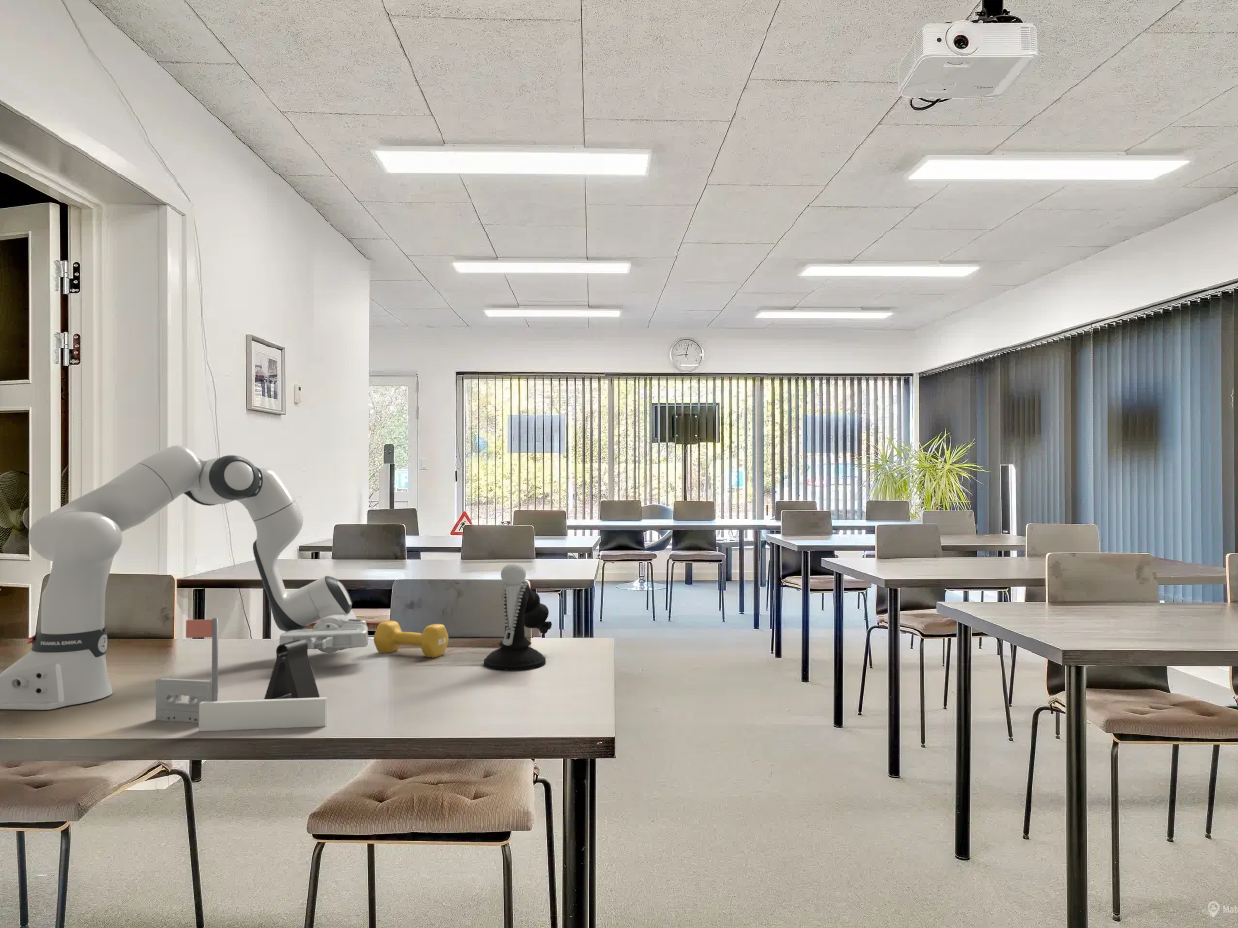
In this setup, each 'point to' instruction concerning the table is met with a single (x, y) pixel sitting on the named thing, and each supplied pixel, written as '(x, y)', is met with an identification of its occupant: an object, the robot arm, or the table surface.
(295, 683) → the phone stand
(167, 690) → the cassette
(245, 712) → the flag on white base
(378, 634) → the dumbbell
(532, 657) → the sculpture
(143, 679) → the table surface
